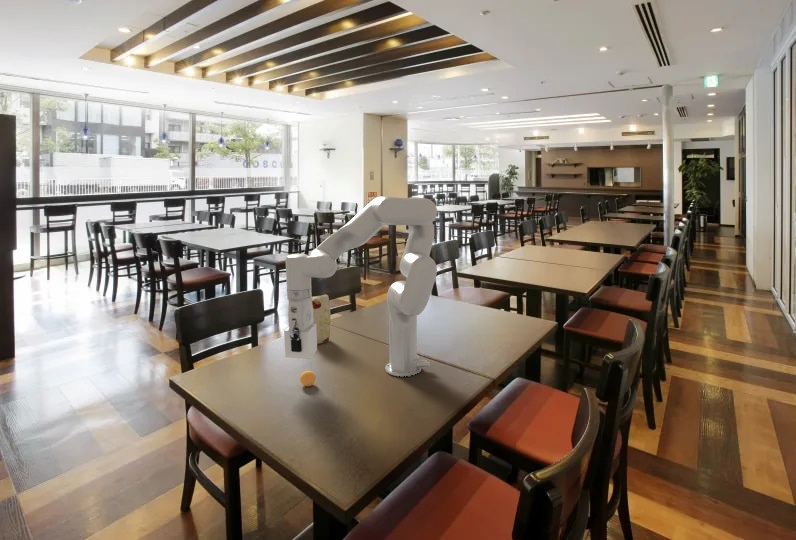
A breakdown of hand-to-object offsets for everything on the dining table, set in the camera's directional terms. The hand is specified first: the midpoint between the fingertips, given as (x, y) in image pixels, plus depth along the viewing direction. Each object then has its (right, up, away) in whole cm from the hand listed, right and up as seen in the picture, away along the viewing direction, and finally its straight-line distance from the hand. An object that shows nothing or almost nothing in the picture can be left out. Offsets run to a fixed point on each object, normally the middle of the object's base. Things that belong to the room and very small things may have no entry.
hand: (301, 346), depth 147 cm
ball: (+2, -11, +2) cm, 11 cm away
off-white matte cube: (0, -2, 0) cm, 2 cm away
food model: (-1, -5, +42) cm, 42 cm away
